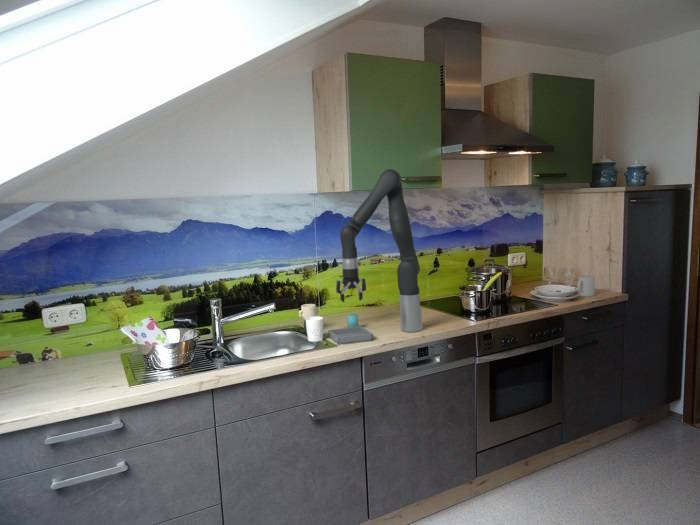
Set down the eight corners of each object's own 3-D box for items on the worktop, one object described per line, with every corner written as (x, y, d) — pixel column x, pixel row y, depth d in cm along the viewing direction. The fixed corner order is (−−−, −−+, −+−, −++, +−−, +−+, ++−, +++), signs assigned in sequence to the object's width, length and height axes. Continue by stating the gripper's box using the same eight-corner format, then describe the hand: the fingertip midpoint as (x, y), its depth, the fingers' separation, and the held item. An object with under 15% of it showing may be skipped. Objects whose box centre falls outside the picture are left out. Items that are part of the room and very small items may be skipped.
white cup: (326, 337, 231) (325, 316, 230) (321, 342, 224) (319, 320, 223) (310, 337, 233) (309, 316, 232) (304, 342, 226) (302, 320, 225)
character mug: (315, 328, 250) (314, 302, 249) (323, 330, 245) (322, 304, 243) (296, 332, 244) (294, 306, 242) (304, 335, 238) (302, 308, 237)
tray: (361, 332, 238) (361, 326, 238) (373, 340, 223) (372, 333, 222) (328, 336, 233) (328, 330, 233) (338, 345, 218) (337, 338, 218)
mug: (584, 293, 303) (584, 275, 302) (597, 294, 296) (597, 276, 295) (571, 295, 297) (571, 277, 296) (584, 297, 290) (584, 278, 289)
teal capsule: (356, 327, 247) (356, 313, 247) (360, 330, 242) (359, 315, 242) (346, 329, 246) (345, 314, 245) (349, 331, 241) (349, 317, 240)
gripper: (362, 265, 246) (363, 298, 248) (333, 267, 242) (335, 301, 244) (366, 267, 239) (368, 300, 241) (337, 269, 235) (339, 303, 237)
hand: (351, 300), depth 243 cm, fingers open, 8 cm apart
